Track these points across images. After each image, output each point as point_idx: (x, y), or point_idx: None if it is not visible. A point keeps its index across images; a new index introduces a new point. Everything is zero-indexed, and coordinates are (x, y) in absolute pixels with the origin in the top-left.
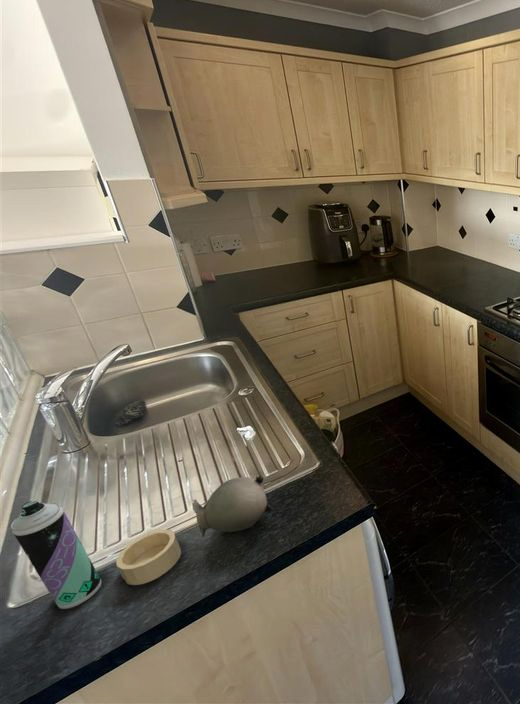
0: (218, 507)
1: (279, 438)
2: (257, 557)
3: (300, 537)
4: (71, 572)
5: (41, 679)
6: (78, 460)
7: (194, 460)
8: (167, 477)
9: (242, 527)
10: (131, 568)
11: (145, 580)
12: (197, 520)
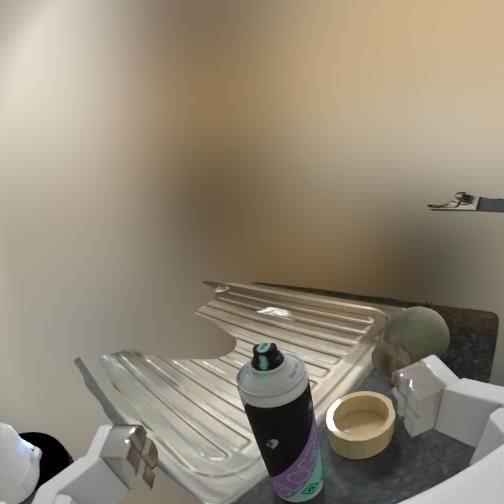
0: (423, 339)
1: (323, 307)
2: (477, 380)
3: (489, 351)
4: (318, 457)
5: None
6: (117, 359)
7: (248, 342)
8: (237, 361)
9: None
10: (378, 435)
11: (383, 447)
12: (406, 363)
